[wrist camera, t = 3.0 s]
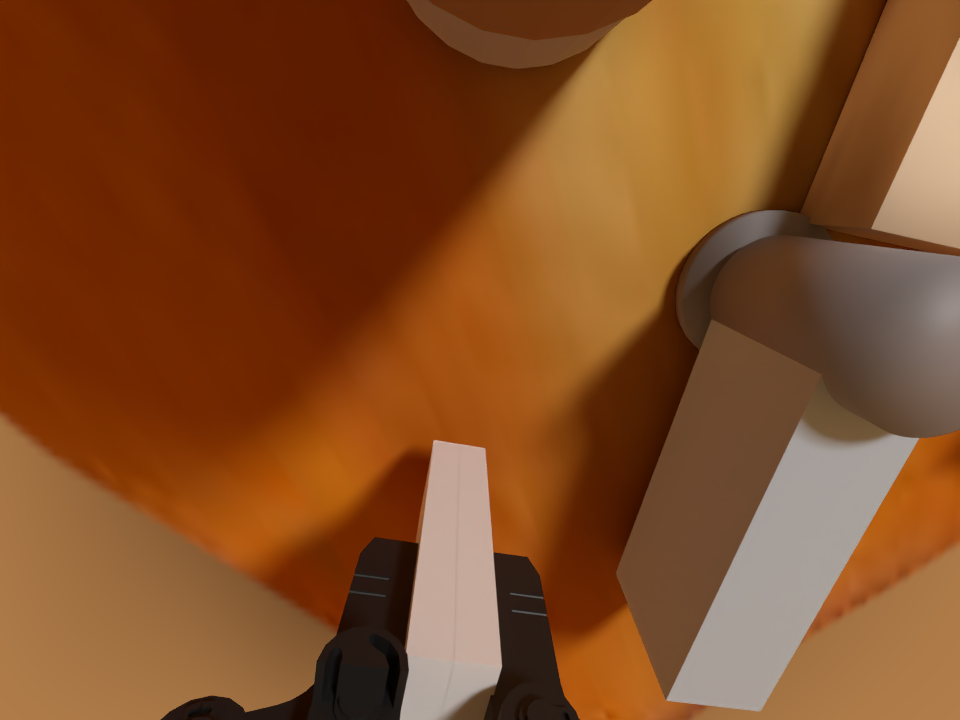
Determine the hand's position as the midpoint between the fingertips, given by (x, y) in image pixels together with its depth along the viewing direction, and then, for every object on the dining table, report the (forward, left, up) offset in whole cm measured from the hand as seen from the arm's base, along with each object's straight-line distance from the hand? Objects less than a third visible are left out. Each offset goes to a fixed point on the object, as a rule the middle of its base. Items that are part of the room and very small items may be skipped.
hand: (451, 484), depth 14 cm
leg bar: (-7, +8, -2) cm, 10 cm away
